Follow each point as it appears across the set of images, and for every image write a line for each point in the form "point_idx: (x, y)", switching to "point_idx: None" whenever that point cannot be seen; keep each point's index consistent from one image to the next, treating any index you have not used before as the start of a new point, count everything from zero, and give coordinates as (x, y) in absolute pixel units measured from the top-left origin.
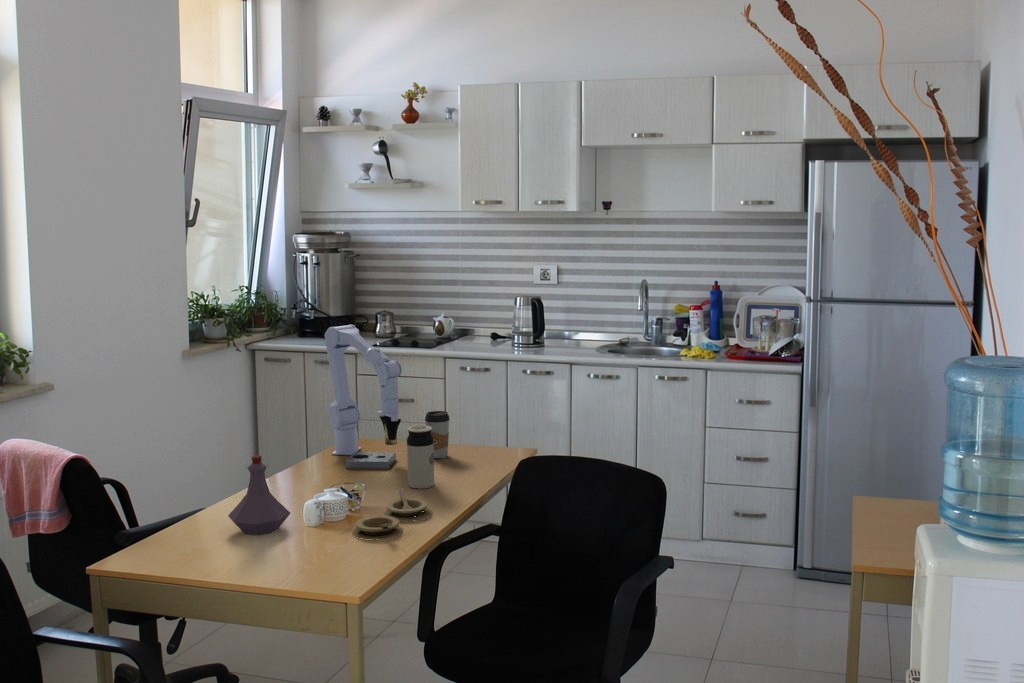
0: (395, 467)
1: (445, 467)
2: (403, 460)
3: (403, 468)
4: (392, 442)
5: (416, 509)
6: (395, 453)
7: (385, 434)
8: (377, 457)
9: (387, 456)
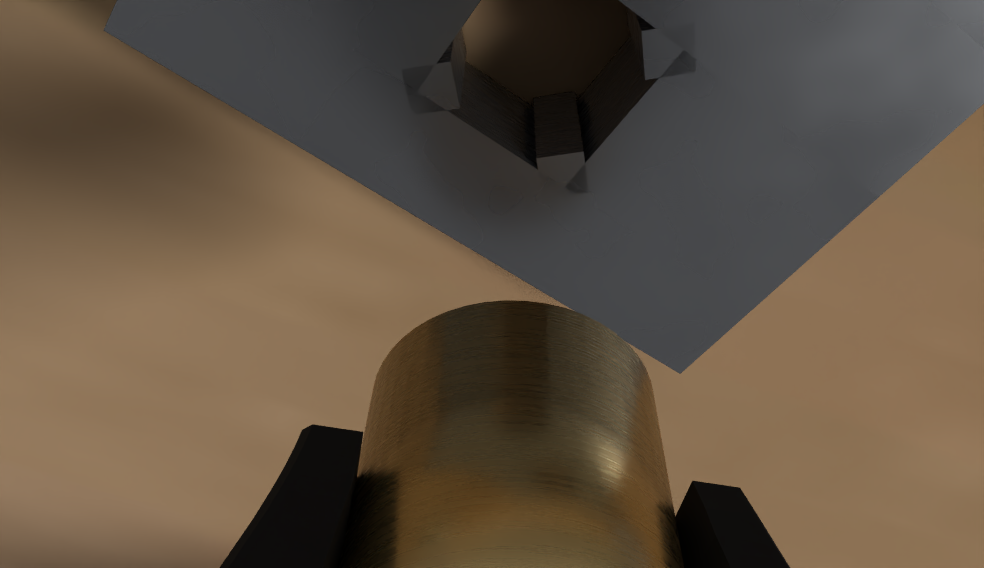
0: (237, 137)
1: (23, 564)
2: None
3: (131, 211)
4: None
5: None
6: (671, 360)
7: (501, 510)
8: (649, 19)
9: (511, 182)
